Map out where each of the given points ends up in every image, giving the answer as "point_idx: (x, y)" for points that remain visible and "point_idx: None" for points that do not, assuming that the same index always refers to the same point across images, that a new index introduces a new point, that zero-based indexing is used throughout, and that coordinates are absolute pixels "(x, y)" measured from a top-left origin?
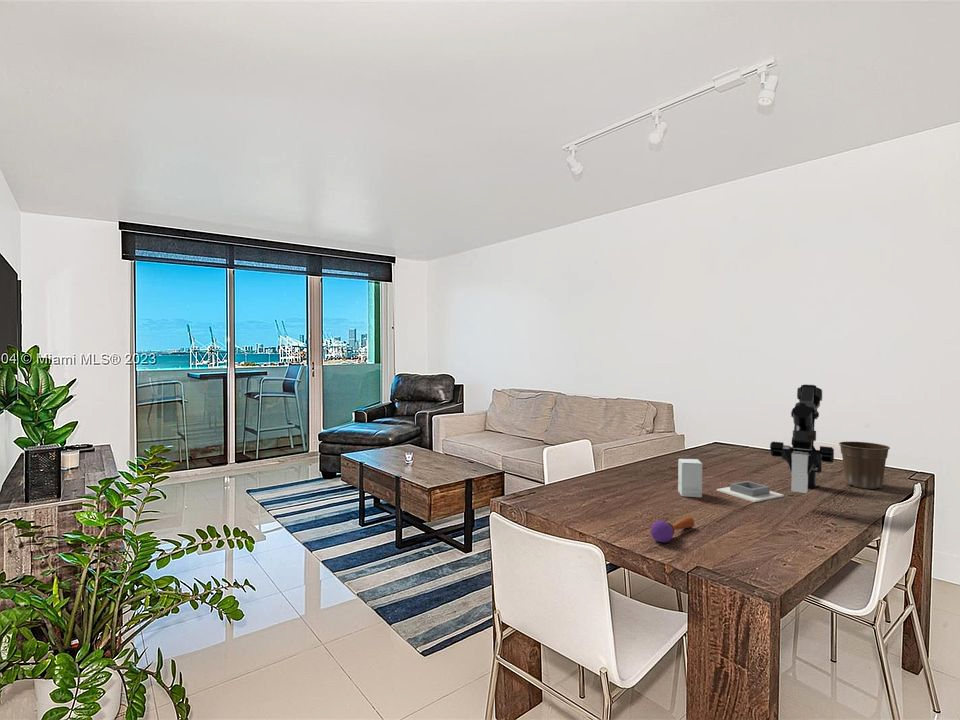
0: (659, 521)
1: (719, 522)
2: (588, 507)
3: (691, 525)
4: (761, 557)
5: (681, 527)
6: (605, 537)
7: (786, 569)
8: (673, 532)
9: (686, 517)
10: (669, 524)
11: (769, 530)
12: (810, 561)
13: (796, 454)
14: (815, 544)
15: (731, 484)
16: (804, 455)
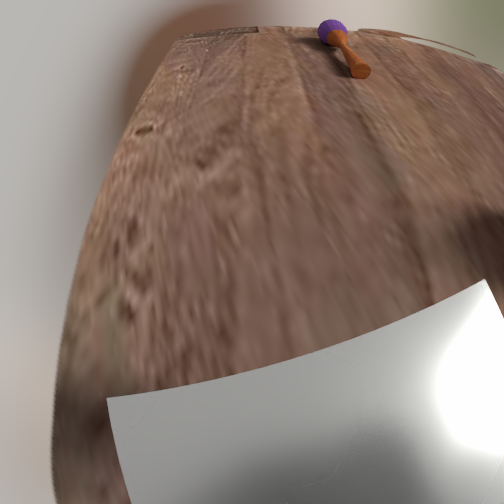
0: (335, 20)
1: (351, 113)
2: (477, 84)
3: (350, 69)
4: (213, 63)
5: (343, 54)
6: (370, 35)
7: (177, 63)
8: (327, 39)
9: (361, 60)
10: (327, 25)
11: (252, 133)
12: (153, 88)
13: (400, 323)
14: (151, 135)
15: None
16: (195, 393)
